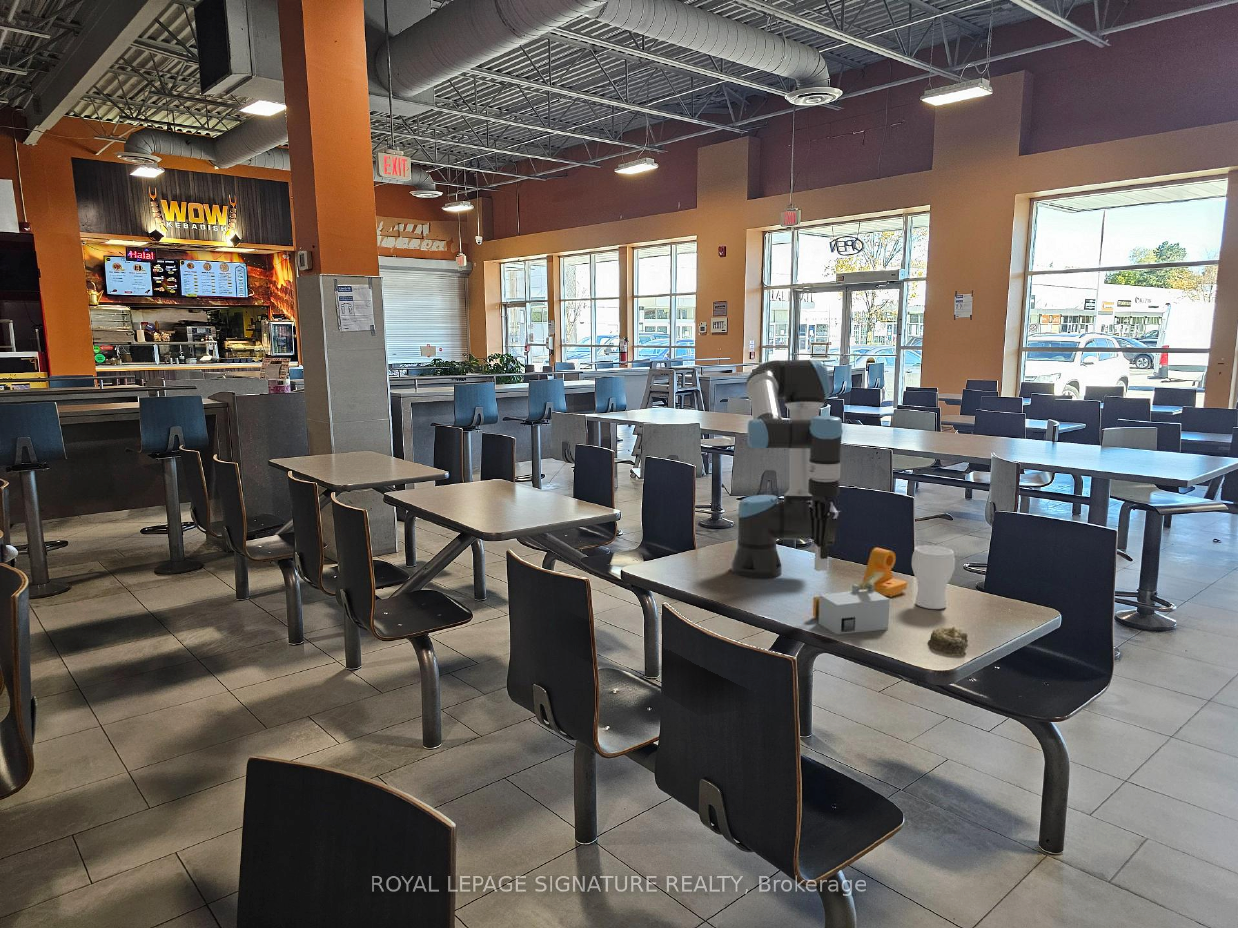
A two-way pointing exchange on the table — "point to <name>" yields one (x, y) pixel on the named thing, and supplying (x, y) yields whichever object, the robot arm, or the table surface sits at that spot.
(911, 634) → the table surface
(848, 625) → the pin
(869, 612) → the block
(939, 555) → the cup
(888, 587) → the bracket
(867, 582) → the latch bar
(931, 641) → the olive green round lump
